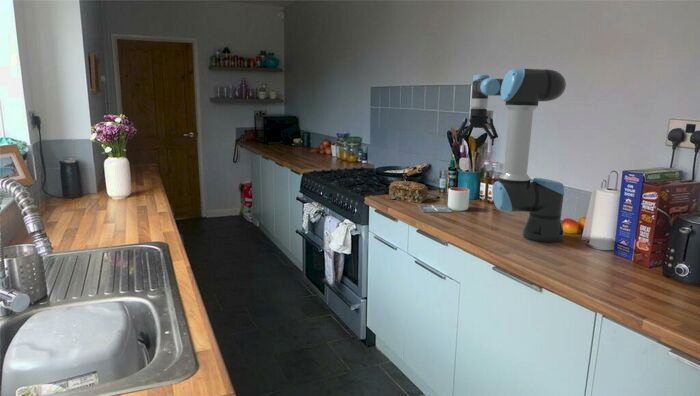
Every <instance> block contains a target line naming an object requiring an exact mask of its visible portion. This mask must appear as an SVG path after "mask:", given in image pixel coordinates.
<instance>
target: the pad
mask: <svg viewBox="0 0 700 396" xmlns="http://www.w3.org/2000/svg"><path fill="white" fill-rule="evenodd" d="M417 207H418V208H419V210H420V211H421V212H422V213H423V214H424V213H425V214H432V213H433V214H452V213H453V210H451V209H449V208H448V206H447V205H445V204H417Z"/></svg>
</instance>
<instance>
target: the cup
mask: <svg viewBox="0 0 700 396" xmlns="http://www.w3.org/2000/svg"><path fill="white" fill-rule="evenodd" d="M470 191H471V190H470V189H469V188H466V187H449V188H448V193H447V194H448V197H447V207H448V208H449V209H450V210H451V211H456V212H465V211H467V210H468V209H469V203H470Z"/></svg>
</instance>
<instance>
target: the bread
mask: <svg viewBox="0 0 700 396" xmlns="http://www.w3.org/2000/svg"><path fill="white" fill-rule="evenodd" d="M428 192H429V188H428V187H427V186H426V184H424V183H419V182H415V181H408V180H407V181H405V180H393V181H392V182H390V185H389V191H388V195H389V199H390V200H395V201H401V202H408V203H419V204H421V203H424V202H425V201H427V199H428Z"/></svg>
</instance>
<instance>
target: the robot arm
mask: <svg viewBox="0 0 700 396" xmlns="http://www.w3.org/2000/svg"><path fill="white" fill-rule="evenodd" d="M471 83H472V89H471V102H470V103H471V104H470V107H471V108H470V114H469V115H470V116H469V118H467V117H463V120H462V123H461V125H460V127H459V129H458V130H457V132H456V134H455V137H456V138H459V140H458V145H459V146H460V149H459V151H460V153H464V151H465V150H464V149H465V137H466V136H467V134H468V133H469V132H470V131H471V130H472V129H473V128H474V129H476V128H480V129H483V130H484V131H485V133H486V134H487V135H488V137H489V138H488V144H487V153H489V154H491V153H492V147H493V146H494V144H495V143H494V141H495V139H498V138H499V134H498V133H497V131H496V128H495V127H496V126H494V120H493V118H491V117H490V118H487V115H488V114H487V113H488V109H487V108H488V102H489V96H493V97H494V96H500V99H501V100H502V101H504V102H505V104H504V105H505V107H506V108H507V109H508V118H507V130H506V139H505V151H504V164H503V172H502V173H501V174H500V175H499V176H498V180H497V181H495V182H493V184H492V189H491V191H492V193H491V195H492V200H493V204H494V207H496V209H498V211H500V212H508V213H513V212H516V213H517V212H518V213H519V212H522V213H523V212H528V213H529V215H528V218H527V220H526V222H525V225H524V227H523V228H522V236H523V237H524V238H526V239H530V240H532V241H536V242H544V243H558V242H562V241H563V240H564V236H565V234H564V229H563V225H562V220H561V218H562V213H563V211H562V210H563V203H564V196H565V185H564V184H563V183H562V182H560V181H556V180H552V179H549V178H548V179H546V178H542V177H534V178H533V179H532V180H531V177H530V176H529V175H528V164H529V157H530V146H531V145H530V144H531V136H532V127H533V125H532V124H533V115H534V111H535V110H536V109H537V108H538V107H539V102H550V101H554V100H556V99H558V98H560V97H561V96H562V95H563V94H564V92H565V90H566V87H567V82H566V78H565V77H564V76H563V74H561V73H560V72H558V71H557V70H553V69H543V68H542V69H540V68H539V69H537V68H536V69H535V68H513V69H512V68H511V69H510V70H508V71H507V72H506V74H505V75H504V77H503V78H494V77H490V75H489V74H475V75H473V78H472V82H471ZM468 123H469V124H468ZM487 123H488V125H489V127H490V128H488V126H487ZM467 124H468V126H467V127H466V125H467ZM465 127H466V129H465ZM464 129H465V130H464Z"/></svg>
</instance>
